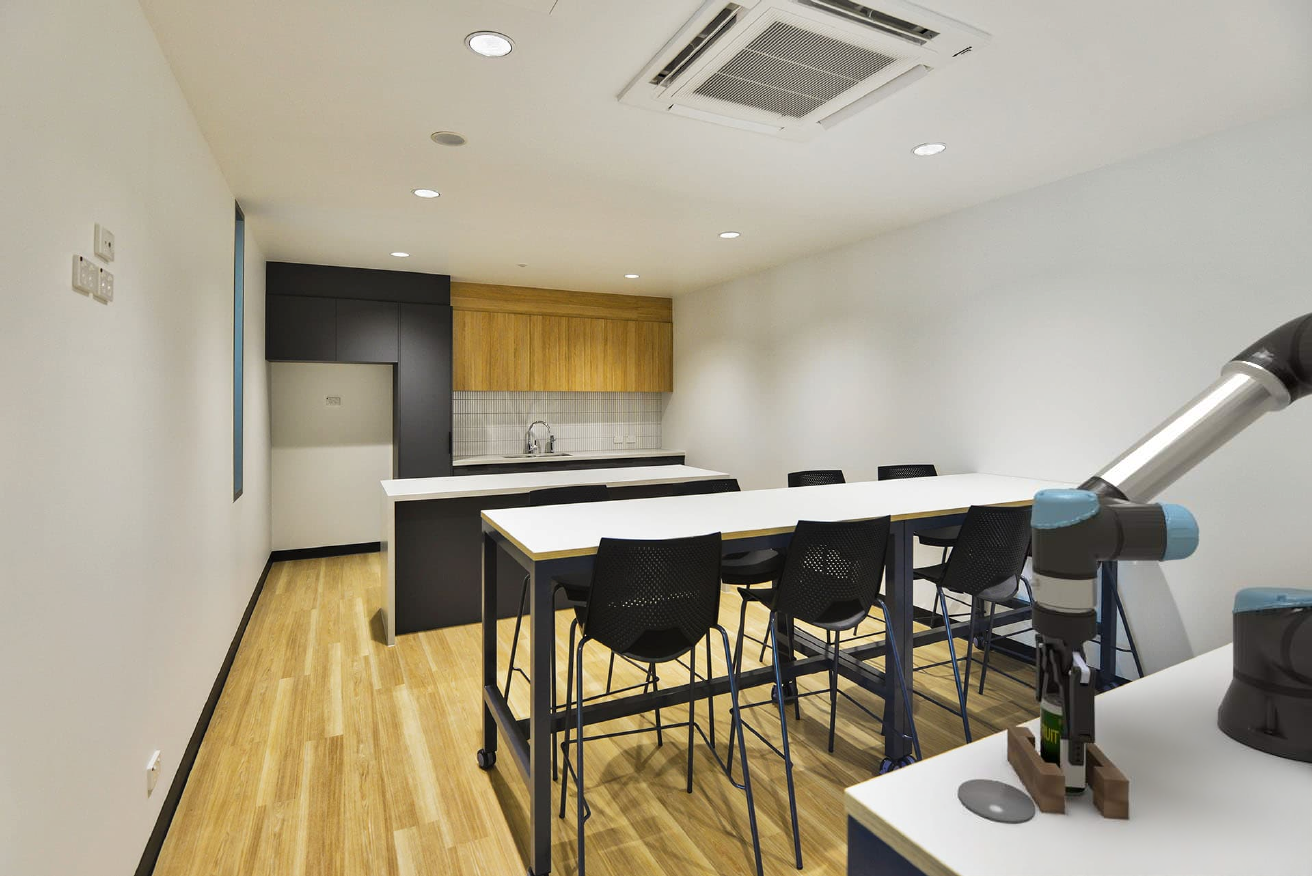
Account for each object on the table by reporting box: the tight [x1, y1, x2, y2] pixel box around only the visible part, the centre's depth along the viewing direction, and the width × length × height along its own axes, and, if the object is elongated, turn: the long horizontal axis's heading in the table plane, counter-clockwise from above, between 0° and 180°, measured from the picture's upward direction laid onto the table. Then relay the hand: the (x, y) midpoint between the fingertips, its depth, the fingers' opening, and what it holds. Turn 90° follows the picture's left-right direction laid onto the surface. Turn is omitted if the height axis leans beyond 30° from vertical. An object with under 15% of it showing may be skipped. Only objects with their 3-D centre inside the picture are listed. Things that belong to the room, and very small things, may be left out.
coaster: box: [957, 778, 1036, 824], centre depth 87 cm, size 9×9×1 cm
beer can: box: [1039, 693, 1088, 798], centre depth 90 cm, size 5×5×12 cm
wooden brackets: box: [1006, 725, 1130, 821], centre depth 90 cm, size 10×13×5 cm
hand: (1062, 772), depth 90 cm, fingers closed on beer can, 5 cm apart
